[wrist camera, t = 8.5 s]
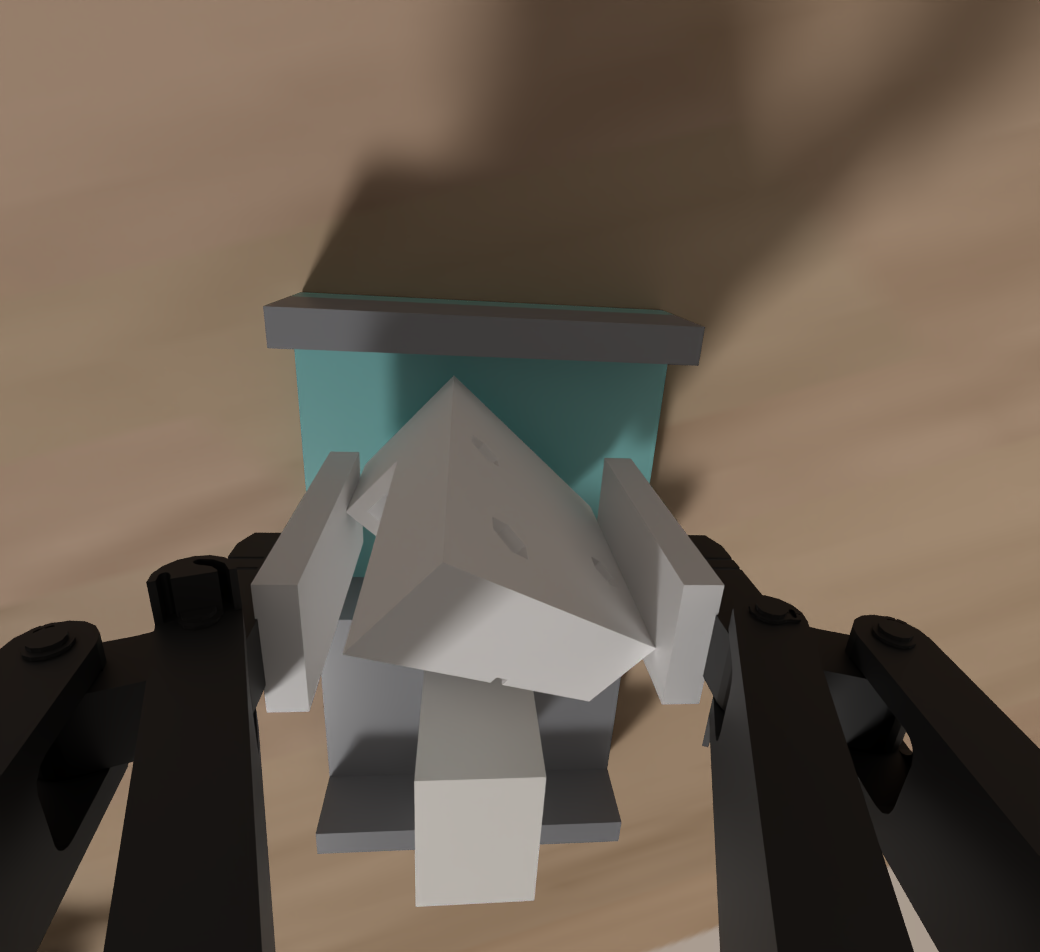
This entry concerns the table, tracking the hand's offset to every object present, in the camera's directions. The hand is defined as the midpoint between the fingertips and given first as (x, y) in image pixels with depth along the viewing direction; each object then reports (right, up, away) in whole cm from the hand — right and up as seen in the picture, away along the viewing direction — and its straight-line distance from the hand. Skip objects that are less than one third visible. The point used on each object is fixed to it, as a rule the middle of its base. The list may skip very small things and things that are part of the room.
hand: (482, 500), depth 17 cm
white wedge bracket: (0, 0, +1) cm, 1 cm away
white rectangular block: (-1, -7, +6) cm, 9 cm away
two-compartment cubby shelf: (0, -3, +5) cm, 6 cm away
